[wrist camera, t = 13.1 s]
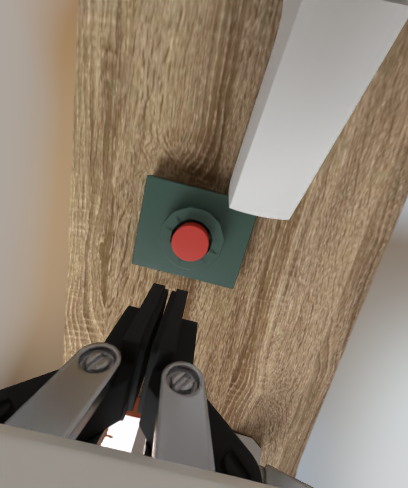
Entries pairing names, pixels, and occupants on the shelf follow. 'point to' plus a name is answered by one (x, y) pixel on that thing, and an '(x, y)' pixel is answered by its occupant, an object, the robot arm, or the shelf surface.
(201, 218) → the button block
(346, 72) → the faucet
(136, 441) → the tap handle
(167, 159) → the shelf surface
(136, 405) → the panel
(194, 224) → the button
